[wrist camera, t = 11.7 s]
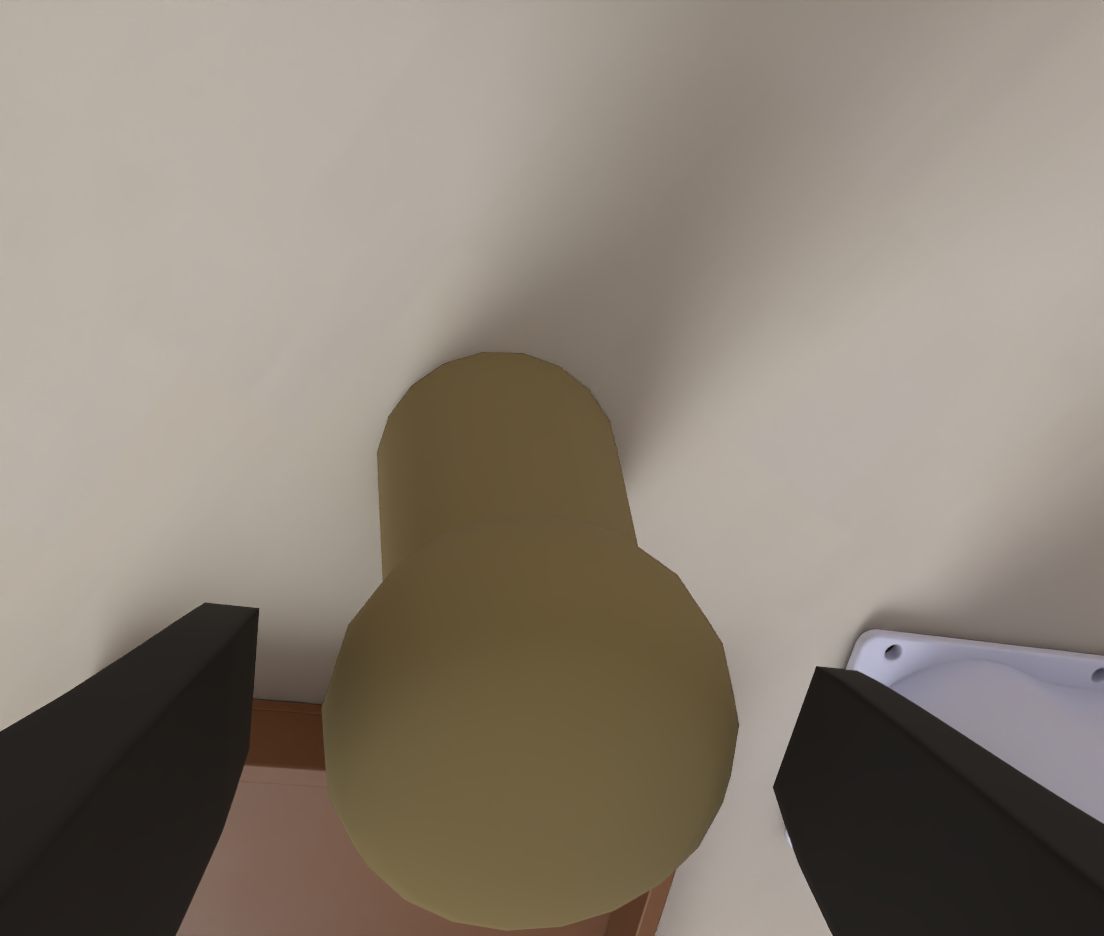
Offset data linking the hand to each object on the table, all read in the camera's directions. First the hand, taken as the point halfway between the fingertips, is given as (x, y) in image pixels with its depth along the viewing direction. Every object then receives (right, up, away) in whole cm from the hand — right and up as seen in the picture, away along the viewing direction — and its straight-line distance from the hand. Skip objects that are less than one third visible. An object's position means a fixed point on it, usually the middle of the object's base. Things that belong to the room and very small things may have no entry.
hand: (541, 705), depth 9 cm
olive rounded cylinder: (-1, +3, +9) cm, 10 cm away
